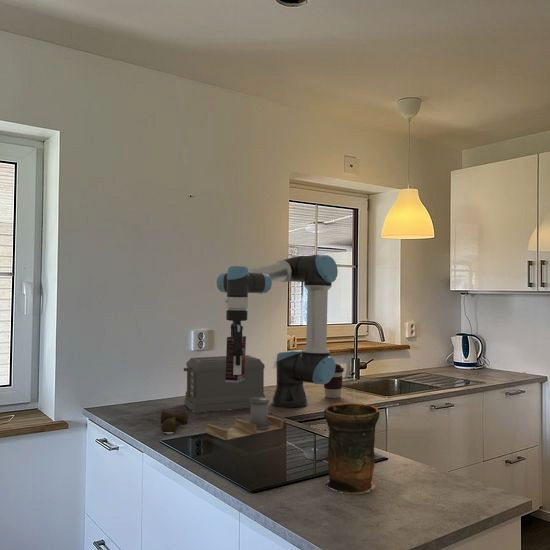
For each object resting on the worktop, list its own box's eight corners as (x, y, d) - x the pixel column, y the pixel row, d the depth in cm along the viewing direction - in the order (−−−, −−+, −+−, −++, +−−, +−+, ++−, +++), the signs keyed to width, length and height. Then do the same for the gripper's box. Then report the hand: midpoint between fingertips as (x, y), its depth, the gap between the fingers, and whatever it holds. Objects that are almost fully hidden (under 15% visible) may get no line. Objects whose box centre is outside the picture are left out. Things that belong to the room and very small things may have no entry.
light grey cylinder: (260, 424, 204) (260, 396, 204) (273, 428, 198) (273, 399, 199) (244, 427, 199) (244, 399, 199) (257, 431, 194) (257, 402, 194)
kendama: (153, 436, 193) (164, 420, 213) (181, 437, 193) (189, 421, 213) (154, 418, 193) (164, 404, 213) (182, 419, 193) (190, 405, 213)
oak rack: (263, 424, 207) (263, 413, 207) (282, 430, 199) (282, 419, 199) (206, 436, 191) (206, 424, 191) (225, 443, 183) (225, 430, 183)
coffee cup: (343, 395, 264) (343, 363, 265) (343, 399, 255) (344, 366, 255) (322, 394, 265) (322, 362, 266) (321, 398, 256) (322, 365, 256)
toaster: (178, 404, 241) (179, 357, 241) (252, 399, 254) (252, 354, 254) (188, 414, 224) (189, 363, 224) (267, 407, 237) (267, 359, 237)
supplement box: (238, 383, 194) (239, 337, 195) (224, 382, 195) (225, 337, 196) (245, 379, 203) (246, 335, 203) (233, 379, 204) (233, 335, 204)
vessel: (391, 484, 146) (390, 407, 146) (360, 500, 135) (359, 418, 135) (345, 471, 155) (344, 399, 155) (313, 486, 145) (312, 409, 145)
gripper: (223, 308, 210) (222, 368, 209) (229, 310, 188) (228, 377, 188) (243, 308, 211) (242, 368, 211) (251, 310, 190) (250, 377, 189)
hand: (235, 372), depth 199 cm, fingers closed on supplement box, 9 cm apart
